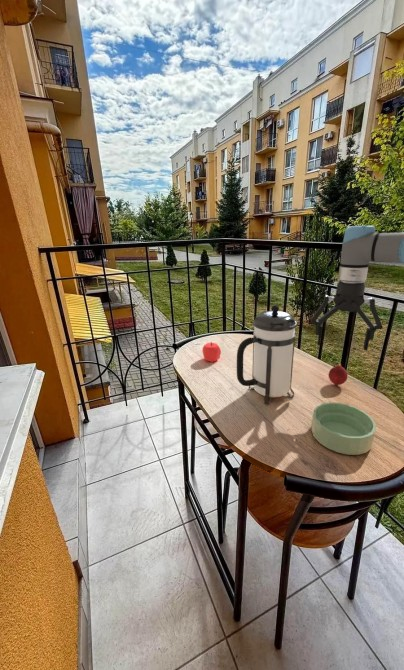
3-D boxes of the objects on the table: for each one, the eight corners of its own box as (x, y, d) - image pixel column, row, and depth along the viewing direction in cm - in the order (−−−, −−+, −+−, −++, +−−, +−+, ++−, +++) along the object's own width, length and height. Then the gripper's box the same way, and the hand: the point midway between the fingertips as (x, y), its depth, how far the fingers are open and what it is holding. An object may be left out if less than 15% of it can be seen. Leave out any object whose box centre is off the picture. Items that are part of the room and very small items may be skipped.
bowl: (367, 425, 76) (371, 408, 74) (376, 463, 64) (380, 444, 62) (312, 414, 82) (314, 398, 80) (310, 448, 69) (312, 430, 67)
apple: (198, 358, 120) (198, 341, 117) (213, 354, 124) (213, 337, 121) (209, 365, 114) (208, 347, 111) (224, 360, 118) (224, 342, 115)
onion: (348, 389, 93) (351, 368, 90) (329, 389, 94) (332, 367, 91) (342, 381, 98) (346, 360, 96) (325, 380, 99) (328, 360, 96)
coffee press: (253, 377, 103) (255, 297, 93) (298, 386, 96) (306, 301, 86) (235, 401, 89) (235, 311, 79) (286, 415, 82) (294, 316, 71)
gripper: (306, 281, 85) (300, 346, 92) (404, 285, 76) (388, 356, 83) (307, 277, 91) (301, 338, 99) (397, 280, 82) (383, 346, 90)
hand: (341, 346), depth 91 cm, fingers open, 13 cm apart
